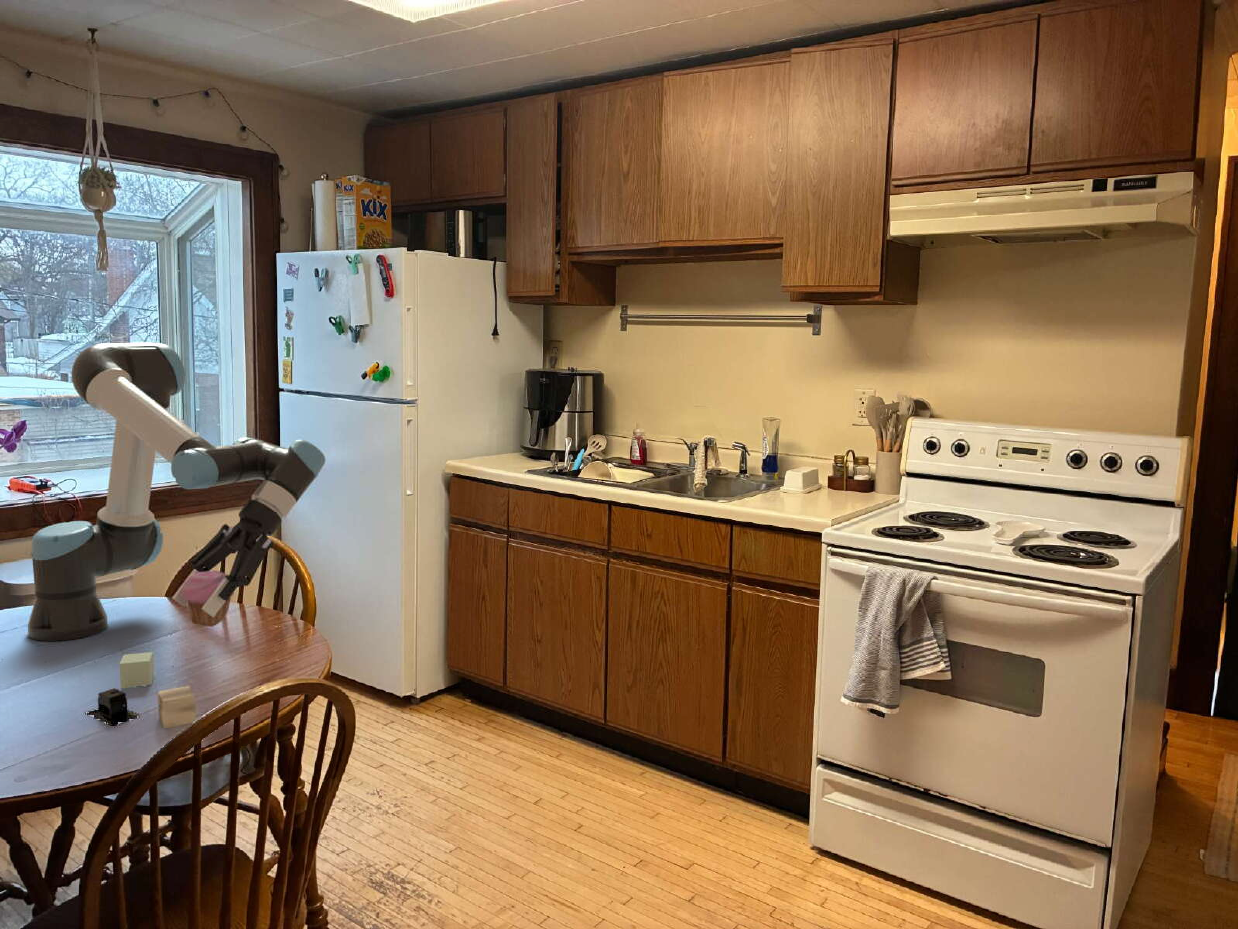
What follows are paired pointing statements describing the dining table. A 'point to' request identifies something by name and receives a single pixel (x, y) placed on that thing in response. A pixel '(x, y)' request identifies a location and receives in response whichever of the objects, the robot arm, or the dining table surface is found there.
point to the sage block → (136, 669)
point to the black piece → (113, 708)
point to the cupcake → (204, 596)
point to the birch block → (176, 706)
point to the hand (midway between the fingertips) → (192, 607)
